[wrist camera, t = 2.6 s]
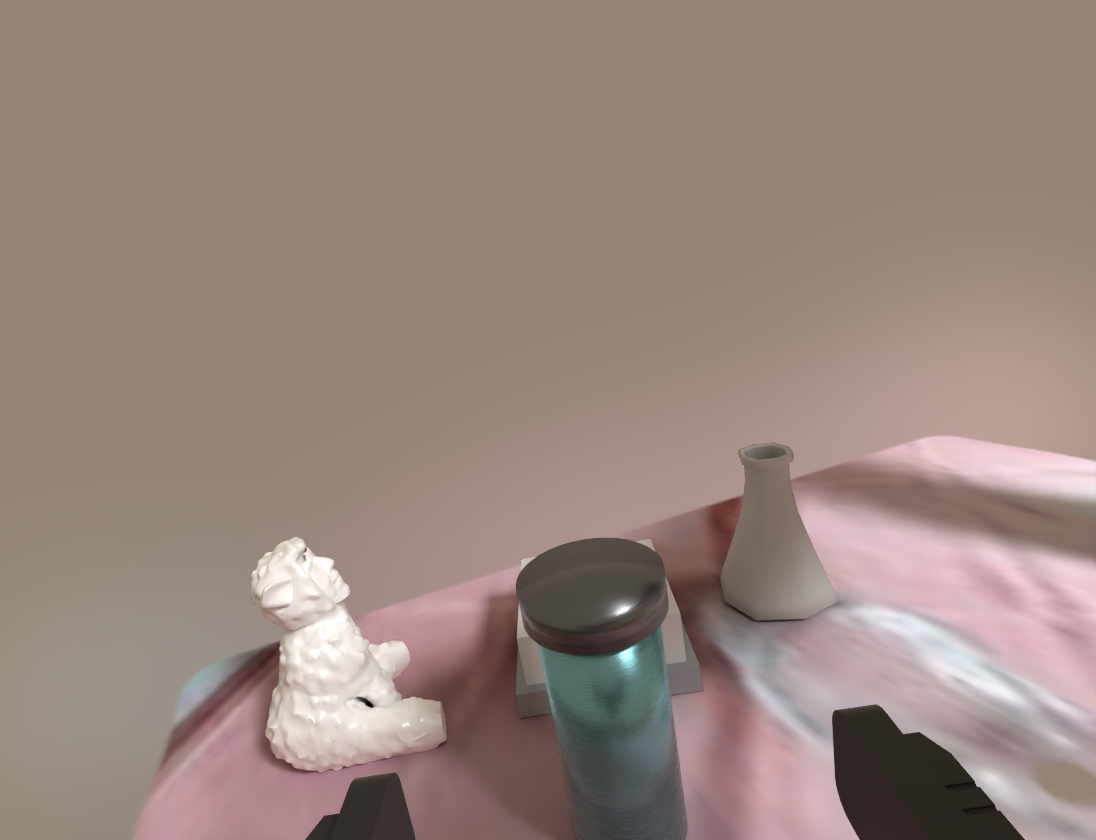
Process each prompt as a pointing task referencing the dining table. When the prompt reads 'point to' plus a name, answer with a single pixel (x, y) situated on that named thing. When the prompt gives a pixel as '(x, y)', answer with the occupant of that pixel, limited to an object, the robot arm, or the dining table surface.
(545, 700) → the dock
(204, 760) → the dining table surface
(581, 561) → the teal capped jar
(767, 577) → the flask
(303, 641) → the seated beast figurine
